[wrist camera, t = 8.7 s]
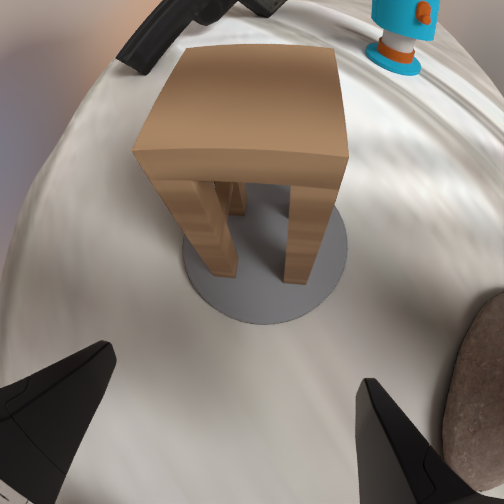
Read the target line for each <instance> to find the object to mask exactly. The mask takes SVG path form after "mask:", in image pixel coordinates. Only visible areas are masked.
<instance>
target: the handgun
mask: <svg viewBox="0 0 504 504" xmlns="http://www.w3.org/2000/svg"><path fill="white" fill-rule="evenodd" d="M237 1H239V2H240V3H242V4H243V5H244V6H246V7H247V8H249V9H250V10H251V11H253V12H254V13H255V14H256V15H259V16H263V17H266V18H269V17H270V16H271V15H272V14H273V13H274V12H275V11H276V10H278V9H279V8H280V7H281V6H282V5H283V4H284V3H285V2H286V1H287V0H163V1H162V2H161V3H160V4H159V5H158V6H157V7H156V8H155V9H154V10H153V12H152V13H151V14H150V15H149V16H148V17H147V18H146V20H145V21H144V22H143V23H142V24H141V25H140V27H139V28H138V29H137V30H136V31H135V33H134V34H133V35H132V36H131V38H130V39H129V40H128V42H127V43H126V44H125V45H124V47H123V48H122V49H121V51H120V52H119V53H118V55H117V56H116V59H118V60H119V61H121V62H123V63H125V64H126V65H128V66H130V67H132V68H133V69H135V70H137V71H139V72H140V73H142V74H144V75H147V74H148V73H149V72H150V71H151V69H152V68H153V67H154V65H155V64H156V63H157V61H158V60H159V59H160V58H161V56H162V55H163V54H164V53H165V51H166V50H167V49H168V48H169V46H170V45H171V44H172V43H173V42H174V40H175V39H176V38H177V37H178V36H179V35H180V33H181V32H182V31H183V30H184V29H185V28H186V27H187V26H188V25H189V23H190V22H191V21H192V20H194V21H196V22H197V23H199V24H201V25H204V26H208V25H210V24H212V23H214V22H216V21H218V20H219V19H220V18H221V17H222V16H223V15H224V14H225V13H226V12H227V11H228V10H229V9H230V8H231V7H232V6H233V5H234V4H235V3H236V2H237Z"/></svg>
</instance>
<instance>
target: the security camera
mask: <svg viewBox="0 0 504 504" xmlns="http://www.w3.org/2000/svg"><path fill="white" fill-rule="evenodd" d="M439 4H440V0H372V15H371V18H372V19H373V21H374V22H375V23H376V24H377V25H379V26H380V27H381V28H383V29H384V31H383V36H382V37H381V38H379V43H372V44H369V45H368V46H367V48H366V54H367V56H368V57H369V59H371V60H372V61H373V62H374V63H376V64H377V65H379V66H381V67H382V68H384V69H387V70H389V71H392V72H394V73H398V74H402V75H408V76H413V75H417V74H418V73H419V72H420V69H421V65H420V63H419V61H418V60H417V59H416V58H415V57H414V53H415V51H414V49H413V48H414V44H415V41H416V39H419V40H425V41H432V40H433V39H434V34H435V29H436V23H437V16H438V11H439Z"/></svg>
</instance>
